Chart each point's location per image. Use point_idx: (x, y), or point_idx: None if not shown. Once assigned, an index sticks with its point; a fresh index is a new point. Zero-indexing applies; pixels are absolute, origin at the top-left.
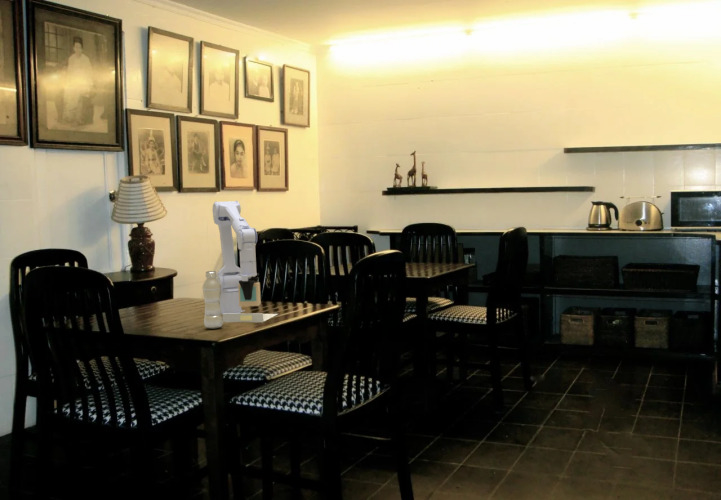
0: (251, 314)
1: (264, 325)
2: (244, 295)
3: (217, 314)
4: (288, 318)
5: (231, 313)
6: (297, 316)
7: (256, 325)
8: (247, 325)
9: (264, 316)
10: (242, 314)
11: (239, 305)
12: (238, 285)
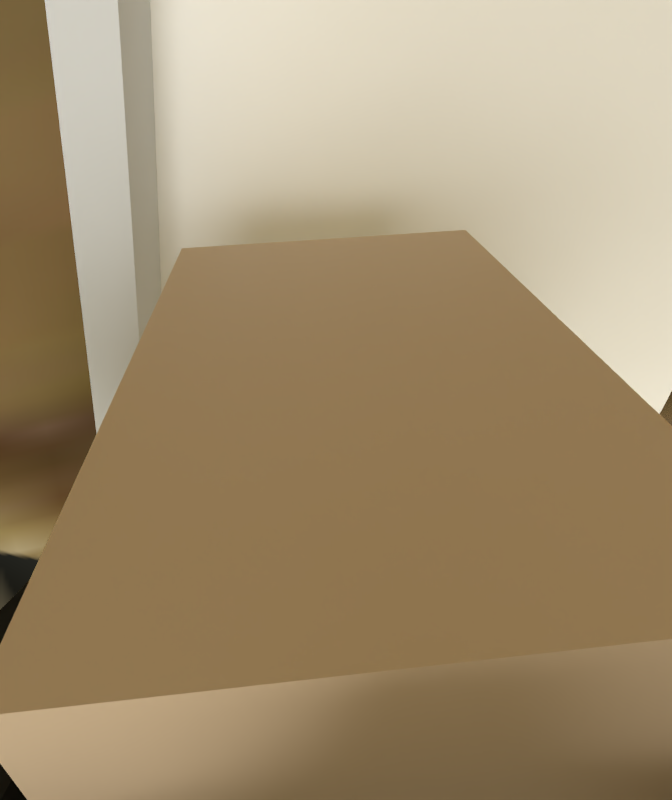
0: (98, 421)
1: (51, 496)
2: None
3: None
4: None
5: (97, 70)
6: None
7: (36, 428)
8: (16, 336)
9: None
10: (83, 296)
11: (179, 261)
12: (7, 663)
